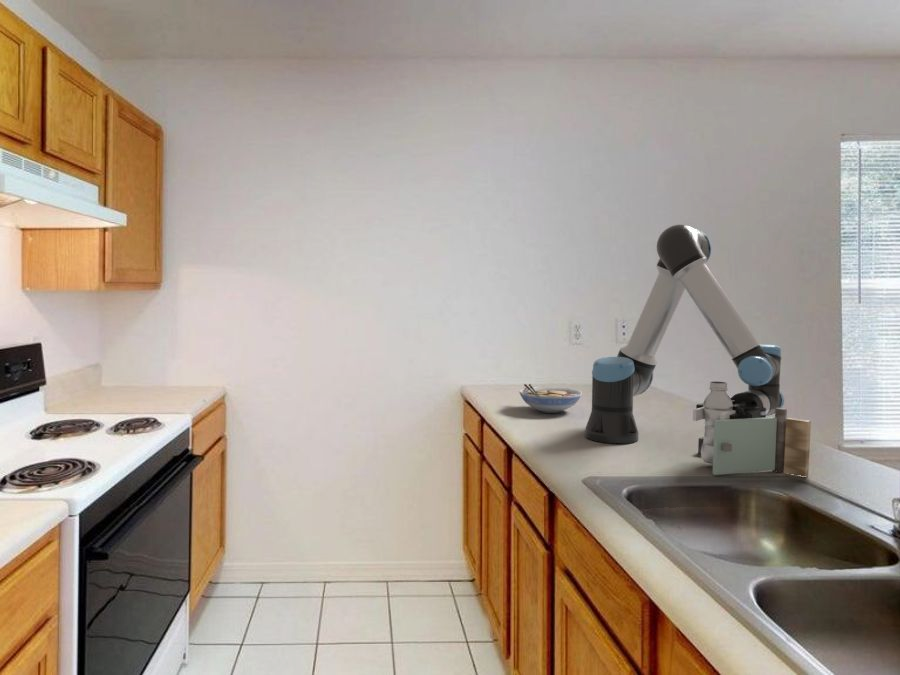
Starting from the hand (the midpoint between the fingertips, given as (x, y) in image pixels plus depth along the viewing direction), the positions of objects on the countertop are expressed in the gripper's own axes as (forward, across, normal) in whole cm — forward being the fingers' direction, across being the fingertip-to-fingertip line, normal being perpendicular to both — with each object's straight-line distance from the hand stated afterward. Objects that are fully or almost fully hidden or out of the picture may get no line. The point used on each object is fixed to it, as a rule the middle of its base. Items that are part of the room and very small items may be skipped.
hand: (707, 417), depth 135 cm
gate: (-4, -7, -13) cm, 15 cm away
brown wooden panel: (-15, -4, -13) cm, 20 cm away
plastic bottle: (-5, 0, -12) cm, 13 cm away
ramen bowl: (-29, +71, -13) cm, 78 cm away
